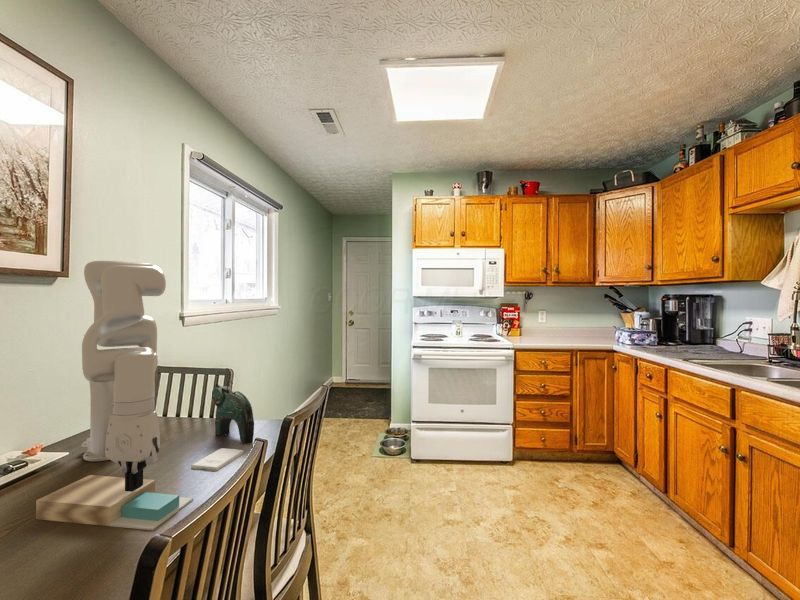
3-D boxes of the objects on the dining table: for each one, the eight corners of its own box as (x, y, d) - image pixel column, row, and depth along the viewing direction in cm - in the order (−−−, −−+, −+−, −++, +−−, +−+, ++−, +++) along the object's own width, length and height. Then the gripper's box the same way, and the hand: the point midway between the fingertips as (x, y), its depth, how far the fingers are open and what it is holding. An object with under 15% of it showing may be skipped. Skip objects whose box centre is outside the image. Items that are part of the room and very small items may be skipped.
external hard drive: (243, 455, 116) (216, 472, 104) (220, 453, 117) (190, 470, 105) (243, 449, 116) (216, 466, 104) (220, 447, 118) (190, 464, 105)
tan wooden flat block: (36, 519, 80) (36, 500, 80) (89, 491, 92) (89, 475, 92) (109, 526, 78) (109, 506, 78) (155, 496, 90) (155, 479, 90)
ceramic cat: (209, 434, 132) (209, 378, 132) (226, 429, 137) (227, 375, 137) (242, 447, 121) (242, 385, 121) (259, 441, 126) (259, 381, 126)
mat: (109, 526, 78) (109, 524, 78) (155, 496, 90) (155, 494, 90) (152, 530, 76) (152, 528, 76) (193, 499, 88) (193, 498, 88)
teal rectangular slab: (121, 517, 80) (121, 506, 80) (144, 502, 86) (144, 492, 86) (158, 521, 79) (158, 509, 79) (179, 505, 85) (179, 495, 85)
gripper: (89, 410, 81) (88, 494, 81) (151, 413, 79) (150, 499, 79) (120, 401, 89) (119, 478, 89) (177, 403, 87) (176, 483, 87)
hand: (134, 488), depth 84 cm, fingers closed
